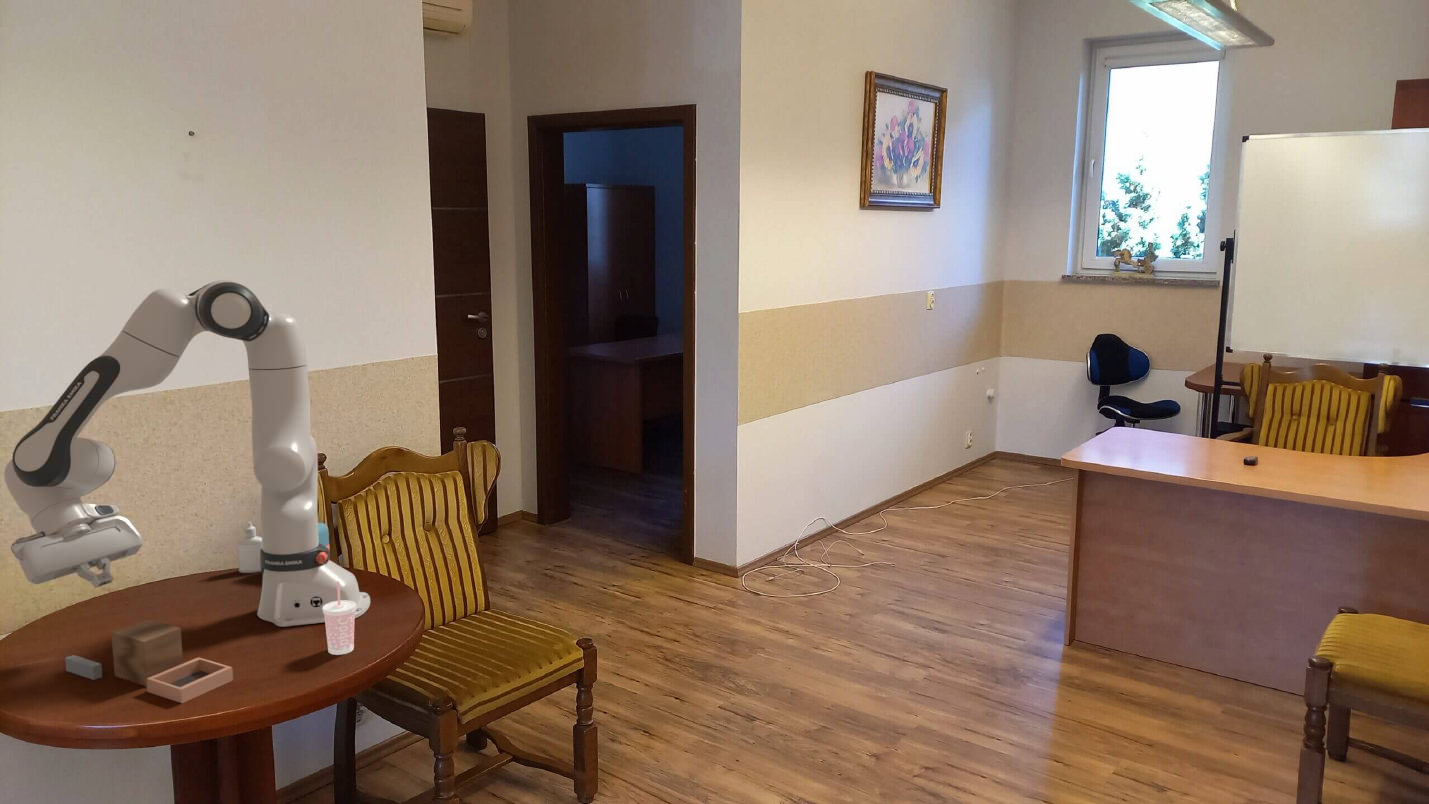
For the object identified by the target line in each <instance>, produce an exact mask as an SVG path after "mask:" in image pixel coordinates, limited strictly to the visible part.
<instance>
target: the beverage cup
mask: <svg viewBox="0 0 1429 804" xmlns="http://www.w3.org/2000/svg"><path fill="white" fill-rule="evenodd" d="M337 594H338V601H334V602H330V603H327V604H325V605H324V606H323V608H322V610H323V613H324V617H325V622H324V623H325V634H326V642H327V651H328V653H329V654H331V655H336V656H339V655H341V656H342V655H347V654H348V653H351V652H353V650H354V648H355V643H354V642H355V619H356V618H355V610H356V603H355V602H353V601H347V600H341V601H340V581H337Z"/></svg>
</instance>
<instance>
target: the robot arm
mask: <svg viewBox="0 0 1429 804" xmlns="http://www.w3.org/2000/svg"><path fill="white" fill-rule="evenodd" d="M203 332H210V333H213V334H216V335H218V336H221V337H223V338H229V339H235V340H239V341H242V342H243V344H244V347H245V350H246V355H247V368H248V376H249V387H250V398H251V439H252V440H251V441H252V442H251V444H252V445H251V446H252V465H253V473H254V476H255V478H256V480H257V481H258V483H259V484H260V485H261V498H260V499H261V501H260V513H259V514H260V528H261V529H260V530H261V538H262V549H261V550H260V569H261V572H260V573H261V575H262V584H261V585H262V587H261V594H260V598H259V599H260V601H259V605H258V609H257V612H256V615H257V616H258V617H259V619H261V620H263V621H266V622H269V623H273V625H275V626H277V627H280V628H282V627H284V628H285V627H292V626H301V625H310V624H311V625H312V624H320V623H325V617H324V613H323V610H322V608H323V606H324V605H325V604H327V603H330V602H334V601H338V594H337V581H340V601H341V600H347V601H353V602H355V603H356V610H355V619H357V618H359V617H361V616H362V615H364V614H365V612H367V610H368V609H369V607H370V605H371V596H370V595H369V594H368V593H367V592H364V591H362V592H361V591H360V589H359V583H358V581H357V578H356V576H355V574H353V572H350V571H349V570H347V569H346V568H343V567H342V566H340V565H338V563H335V562H334V561H332V560H329V553H330V549H331V548H330V544H329V545H328V546H327V547H325V546H324V545H322V544H321V543H319V535H318V523H319V517H318V498H319V497H318V496H319V495H318V490H319V489H318V488H319V485H318V482H319V481H318V479H319V474H318V469H319V467H318V466H319V463H318V462H319V461H318V456H319V455H318V446H317V443H316V440H315V439H314V437H313V436H312V434H311V398H310V397H311V395H310V385H309V383H310V382H309V372H308V364H307V363H308V360H307V354H306V347H305V343H304V339H303V335H302V331H301V328H300V325H299V322H298V321H297V319H296V318H294V316H292V315H290V314H288V313H286V312H281V311H267V309H266V308H265V307H264V305H263V304H262V302H261V301H260V300H259V298H258V297H257V295H256V294H255V293H254V292H253V291H252V290H251V289H250V288H249V287H247V285H244V284H243V283H242V282H239V281H236V280H232V279H220V280H216V281H212V282H210V283H208V284H205V285H204V286H202V287H201V288H198V289H197V290H195V291H192V292H190V293H189V294H184V293H182V292H180V291H177V290H175V289H170V288H169V289H168V288H162V289H161V288H160V289H156V290H153V291H152V292H151V293H149V294H148V295H147V296H146V298H145V299H144V300H142V302H141V303H140V304H139V305H138V307H137V308H136V309H135V310H134V312H133V313H132V314H131V315H130V317H129V318H128V320H127V321H126V322H125V323H124V326H123V327H122V330H121V331H120V333H119V334H118V335H117V337H116V338H115V339H114V341H113V342H112V343H111V344H110V345H109V347H108V348H107V349H105V351H103V353H102V354H100V355H99V356H98V357H95V358H94V359H93V360H91V361H90V362H88V363H87V365H86V366H84V367H83V368H82V369H81V371H80V372H79V373H78V374H77V375H76V376H75V377H74V379H73V380H72V381H71V383H70V384H69V385H68V387H67V388H66V389H65V390H64V391H63V393H62V394H61V395H60V397H58V399H57V400H56V402H55V403H54V404H53V405H52V407H51V408H50V409H49V411H48V412H47V413H46V415H45V416H44V417H43V418H42V419H41V421H40V422H39V423H38V424H37V425H36V426H34V427H33V428H32V429H31V430H30V431H28V432H27V433H26V434H25V435H24V436H23V437H21V439H20V440H19V441H18V442H17V444H16V445H15V447H14V450H13V452H12V459H11V460H9V462H8V463H7V464H6V466H5V468H4V472H3V474H4V481H5V484H6V487H7V489H8V490H9V493H10V495H11V496H12V498H13V500H14V502H15V503H16V505H17V506H18V507H19V509H20V510H21V511H22V512H23V513H25V514H26V516H27V517H28V518H29V522H30V526H31V527H32V528H33V530H34V531H35V533H34V534H31V535H28V536H24V537H20V538H17V539H15V541H14V542H13V543H12V544H11V545H10V551H11V553H12V554H13V556H14V557H15V558H16V559H17V560H18V563H19V565H20V568H21V569H22V571H23V573H24V576H25V578H26V580H27V582H29V583H31V584H33V585H40V584H43V583H46V582H50V581H54V580H56V579H60V578H63V577H65V576H69V575H73V574H75V573H76V574H77V576H78V577H79V578H82V579H84V580H86V581H87V582H90V583H91V585H92V587H94V589H96V588H99V587H103V586H104V585H108V584H111V583H112V582H113V581H114V576H113V575H112V573H111V572H110V570H111V562H114V561H118V560H121V559H125V558H128V557H130V556H134V555H136V554H137V553H138V552H139V551H140V550H141V548H142V546H143V543H144V540H143V537H142V535H141V534H140V532H139V531H138V529H137V528H136V527H135V526H134V525H133V524H132V522H131V521H130V520H129V519H128V518H126V517H125V516H122V515H119V513H120V509H119V507H118V506H117V505H116V504H107V503H106V504H104V503H103V504H97V503H96V504H94V503H85V502H83V500H82V498H81V497H83V496H87V495H88V494H90V493H92V492H93V491H96V489H98V488H100V487H102V486H103V485H105V484H106V483H107V482H108V481H109V480H110V479H111V477H112V476H113V474H114V471H115V468H116V457H115V454H114V452H113V450H112V448H111V447H110V446H109V445H108V444H106V442H103V441H100V440H96V439H92V438H85V437H80V436H79V435H80V434H81V432H82V431H83V430H84V428H85V427H86V426H87V424H88V423H89V422H90V421H91V419H92V418H93V416H94V415H95V414H96V413H97V411H98V410H99V408H100V407H101V406H102V405H103V404H105V402H107V401H109V399H112V398H113V397H115V396H118V395H120V394H123V393H127V392H130V391H131V392H132V391H138V390H145V389H149V388H152V387H155V386H157V385H160V384H162V383H163V382H164V381H165V380H166V379H167V378H168V377H169V375H170V374H172V372H173V371H174V370H175V368H176V367H177V364H178V362H179V361H180V359H181V357H182V355H183V354H184V353H185V350H186V348H187V347H188V345H189V344H190V342H191V341H192V340H193V339H194V337H196V336H197V335H199V334H200V333H203ZM78 436H79V437H78ZM92 568H97V569H98V571H101V573H98V574H97V573H95V572H94V571H93V570H91V569H92Z"/></svg>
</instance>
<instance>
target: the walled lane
mask: <svg viewBox="0 0 1429 804" xmlns="http://www.w3.org/2000/svg"><path fill="white" fill-rule="evenodd" d="M64 661H65V670H66V671H65V672H67V673H68V672H69V673H71V674H75V675H77V676H81V677H83V678H87V679H90V680H92V681H96V680H97V679H98V680H99V679H101V678H103V668H102V663H100V662H96V661H94V660H91V659H87V658H85V657H82V656H78V655H76V654H75V655H74V654H73V655H69V656H66V657H65V658H64Z"/></svg>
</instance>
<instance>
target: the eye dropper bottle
mask: <svg viewBox="0 0 1429 804" xmlns="http://www.w3.org/2000/svg"><path fill="white" fill-rule="evenodd" d="M243 531H244V537H242V538H241V537H240V539H239V540H238V541H237V560H238V561H237V562H238V572H239V573H241V574H252V573H253V574H254V573H259V572H260V573H261V569H260V550H261V549H262V536H258V535H257V530H256V526H253V524H252V521H248V522H247V524H246V527H244V528H243Z"/></svg>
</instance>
